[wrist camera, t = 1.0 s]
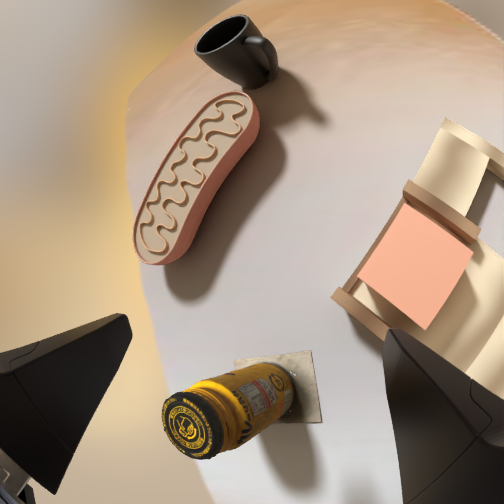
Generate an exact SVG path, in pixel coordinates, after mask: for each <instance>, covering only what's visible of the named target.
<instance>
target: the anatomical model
mask: <svg viewBox="0 0 504 504" xmlns="http://www.w3.org/2000/svg"><path fill="white" fill-rule="evenodd" d="M259 127H260V117H259V112H258V110H257V107H256V105H255V103H254V102H253V100H252V99H251V98H250V97H249V96H248V95H247V94H246V93H243V92H241V91H229V92H225V93H222V94H220V95H218V96H216V97H214V98H212V99H211V100H210V101H208V102H207V103H206V104H205V105H204V106H203V107H202V108H201V109H200V110H199V111H198V112H197V113H196V114H195V116H194V117H193V118H192V119H191V121H190V122H189V123H188V124H187V126H186V127H185V128H184V130H183V131H182V132H181V133H180V135H179V136H178V138H177V139H176V140H175V142H174V143H173V145H172V146H171V148H170V149H169V151H168V152H167V154H166V156H165V157H164V159H163V160H162V162H161V164H160V166H159V168H158V169H157V171H156V173H155V175H154V177H153V179H152V181H151V183H150V185H149V187H148V189H147V192H146V194H145V196H144V199H143V201H142V203H141V206H140V208H139V210H138V213H137V216H136V219H135V222H134V226H133V244H134V250H135V252H136V254H137V256H138V258H139V259H140V260H141V261H142V262H144V263H146V264H151V265H164V264H168V263H171V262H173V261H175V260H177V259H178V258H180V257H181V256H182V255H183V254H184V253H185V252H186V251H187V250H188V248H189V247H190V246H191V243H192V241H193V239H194V237H195V234H196V232H197V230H198V228H199V225H200V223H201V221H202V219H203V217H204V215H205V212H206V210H207V208H208V207H209V205H210V203H211V201H212V199H213V197H214V196H215V194H216V192H217V190H218V189H219V187H220V186H221V184H222V183H223V181H224V180H225V178H226V177H227V176H228V174H229V173H230V171H231V170H232V169H233V168H234V166H235V165H236V164H237V162H238V161H239V160H240V159H241V157H242V156H243V155H244V154H245V152H246V151H247V150H248V149H249V148H250V146H251V145H252V144H253V143H254V141H255V139H256V137H257V135H258V132H259Z"/></svg>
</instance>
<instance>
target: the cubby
mask: <svg viewBox="0 0 504 504" xmlns="http://www.w3.org/2000/svg"><path fill="white" fill-rule="evenodd" d="M404 203H406V204H408V203H411V204H412V205H414V206H415V207H417V208H418V209H420V210H421V211H423V212H424V213H426V214H427V215H429V216H430V217H432V218H433V219H434V220H436V221H437V222H439V223H440V224H442V225H443V226H444V227H446V228H447V229H448V230H450V231H451V232H452V233H454V234H455V235H456V236H458V237H459V238H460V239H462V240H463V241H464V242H466V243H467V244H468V245H469V246H470V245H471V244H472V243H473V242H474V241H475V240H476V239H477V237H478V235H479V232H480V230H481V229H480V228H479V227H478V226H476V225H475V224H474V223H473V222H471V221H470V220H469V219H467V218H466V217H465V216H463V215H462V214H460V213H459V212H458V211H456V210H455V209H453V208H452V207H451V206H449V205H448V204H446V203H445V202H443V201H442V200H440V199H439V198H437V197H436V196H434V195H433V194H431V193H430V192H428V191H427V190H425V189H423V188H422V187H420V186H419V185H417V184H415V183H414V182H412V181H410V180H409V179H408V181H407V183H406V185H405V186H404V188H403V197H402V199H401V200H400V202H399V204H398V205H397V207H396V209H395V210H394V212H393V214H392V215H391V217H390V218H389V220H388V222H387V223H386V225H385V226H384V228H383V230H382V231H381V233H380V234H379V236H378V237H377V239H376V240H375V242H374V243H373V245H372V246H371V248H370V249H369V251H368V252H367V254H366V255H365V257H364V258H363V260H362V261H361V262H360V264H359V265H358V267H357V268H356V270H355V271H354V272H353V274H352V275H351V277H350V278H349V279H348V281H347V282H346V284H345V285H344V286H343V288H340V287H338V288H337V289H336V291H335V292H334V294H333V295H332V296H331V299H333V300H334V301H335V302H336V303H337V304H339V305H340V306H341V307H342V308H344V309H345V310H346V311H347V312H348V313H350V314H351V315H352V316H353V317H355V318H356V319H357V320H358V321H359V322H361V323H362V324H363V325H364V326H366V327H367V328H368V329H369V330H370V331H372V332H373V333H374V334H375V335H376V336H378V337H379V338H380V339H381V340H382V341H385V337H386V333H387V330H388V329H389V328H392V327H391V326H390V325H389V324H387V323H386V322H385V321H384V320H382V319H381V318H380V317H379V316H378V315H376V314H375V313H374V312H373V311H371V310H370V309H369V308H368V307H366V306H365V305H364V304H363V303H361V302H360V301H359V300H358V299H356V298H355V297H354V296H353V295H351V294H350V293H349V292H350V291H351V289H352V288H353V287H354V285H355V284H356V282H357V281H358V280H359V277H357V275H358V274H359V272H360V271H361V269H362V268H363V267H364V265H365V264H366V262H367V261H368V259H369V258H370V256H371V255H372V253H373V252H374V250H375V249H376V247H377V246H378V244H379V243H380V241H381V240H382V238H383V237H384V235H385V234H386V232H387V231H388V229H389V227H390V226H391V224H392V223H393V221H394V219H395V218H396V216H397V214H398V213H399V211H400V209H401V208H402V206H403V204H404Z"/></svg>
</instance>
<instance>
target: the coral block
mask: <svg viewBox="0 0 504 504" xmlns="http://www.w3.org/2000/svg"><path fill="white" fill-rule="evenodd" d="M473 253H474V252H473V251H471V250H470V249H469V248H468V247H466V246H465V245H464V244H462V243H461V242H460V241H458V240H457V239H456V238H455V237H453V236H452V235H451V234H449V233H448V232H446V231H445V230H444V229H442V228H441V227H440V226H438V225H437V224H435V223H434V222H432V221H431V220H430V219H428V218H427V217H425V216H424V215H422V214H421V213H419V212H418V211H416V210H415V209H413V208H412V207H410V206H409V205H407V204H406V203H404V204H403V206H402V208H401V209H400V211H399V213H398V214H397V216H396V218H395V219H394V221H393V223H392V224H391V226H390V227H389V229H388V231H387V232H386V234H385V235H384V237H383V238H382V240H381V241H380V243H379V244H378V246H377V247H376V249H375V250H374V252H373V253H372V255H371V256H370V258H369V259H368V261H367V262H366V264H365V265H364V267H363V268H362V269H361V271H360V272H359V274H358V275H357V277H359V278H360V279H361V280H363V281H364V282H365V283H366V284H368V285H369V286H370V287H372V288H373V289H374V290H376V291H377V292H378V293H379V294H381V295H382V296H383V297H384V298H386V299H387V300H388V301H390V302H391V303H392V304H393V305H395V306H396V307H397V308H398V309H400V310H401V311H402V312H403V313H405V314H406V315H407V316H408V317H409V318H411V319H412V320H413V321H414V322H416V323H417V324H418V325H419V326H420V327H422V328H423V329H424V330H426V329H427V327H428V326H429V324H430V323H431V322H432V320H433V319H434V317H435V316H436V315H437V313H438V312H439V310H440V309H441V307H442V306H443V304H444V303H445V301H446V300H447V298H448V296H449V295H450V293H451V292H452V290H453V288H454V287H455V285H456V283H457V282H458V280H459V278H460V277H461V275H462V273H463V271H464V270H465V268H466V266H467V264H468V262H469V261H470V259H471V257H472V255H473Z"/></svg>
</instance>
